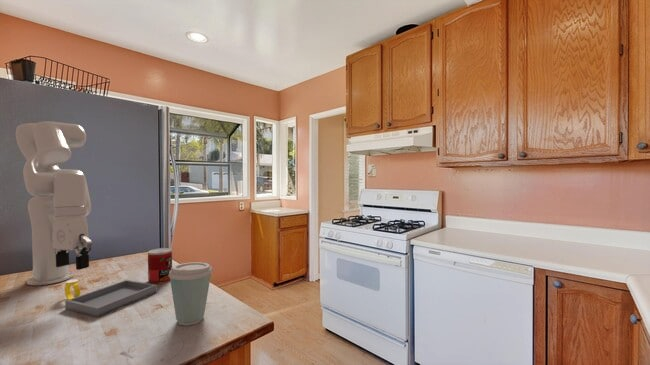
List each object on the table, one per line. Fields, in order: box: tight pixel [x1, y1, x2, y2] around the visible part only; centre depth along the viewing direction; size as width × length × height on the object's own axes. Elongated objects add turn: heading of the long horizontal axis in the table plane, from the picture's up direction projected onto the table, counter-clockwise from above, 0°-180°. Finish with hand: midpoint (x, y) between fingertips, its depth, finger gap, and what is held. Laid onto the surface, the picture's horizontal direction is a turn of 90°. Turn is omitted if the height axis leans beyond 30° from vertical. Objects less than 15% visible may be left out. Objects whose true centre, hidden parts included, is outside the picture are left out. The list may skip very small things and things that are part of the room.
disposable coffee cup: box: [169, 261, 213, 326], centre depth 77 cm, size 11×11×15 cm
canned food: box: [147, 247, 173, 284], centre depth 107 cm, size 8×8×11 cm
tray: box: [64, 279, 158, 318], centre depth 90 cm, size 14×18×2 cm
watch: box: [64, 279, 81, 300], centre depth 90 cm, size 6×3×6 cm, turn 65°
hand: (72, 267), depth 90 cm, fingers open, 9 cm apart
